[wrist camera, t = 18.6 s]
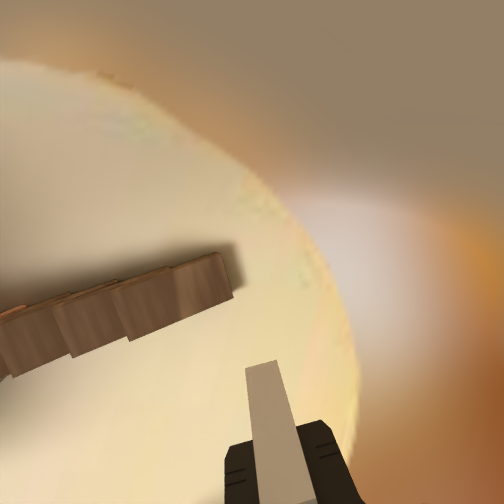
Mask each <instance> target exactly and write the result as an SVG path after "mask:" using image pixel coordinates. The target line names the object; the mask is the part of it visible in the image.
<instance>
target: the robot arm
mask: <svg viewBox="0 0 504 504" xmlns="http://www.w3.org/2000/svg"><path fill="white" fill-rule="evenodd" d="M245 372H246V381H247V391H248V400H249V409H250V418H251V427H252V436H253V440H250V441H247V442H243V443H240V444H236V445H233V446H230V447H229V450H228V452H227V455H226V457H225V504H365V503H364V501H363V500H362V499H361V498H360V496H359V494H358V492H357V489H356V487H355V485H354V482H353V480H352V477H351V475H350V473H349V470H348V468H347V466H346V463H345V461H344V459H343V456H342V454H341V452H340V449H339V447H338V444H337V443H336V440H335V437H334V435H333V433H332V430H331V428H330V427H328V426H327V425H326V424H325V423H324V422H323V421H322V420H318V421H314V422H311V423H307V424H303V425H300V426H295V423H294V419H293V416H292V412H291V409H290V405H289V402H288V398H287V395H286V391H285V388H284V384H283V381H282V377H281V374H280V370H279V367H278V363H277V360H274V361H270V362H267V363H263V364H259V365H256V366H252V367H249V368H245Z"/></svg>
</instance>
